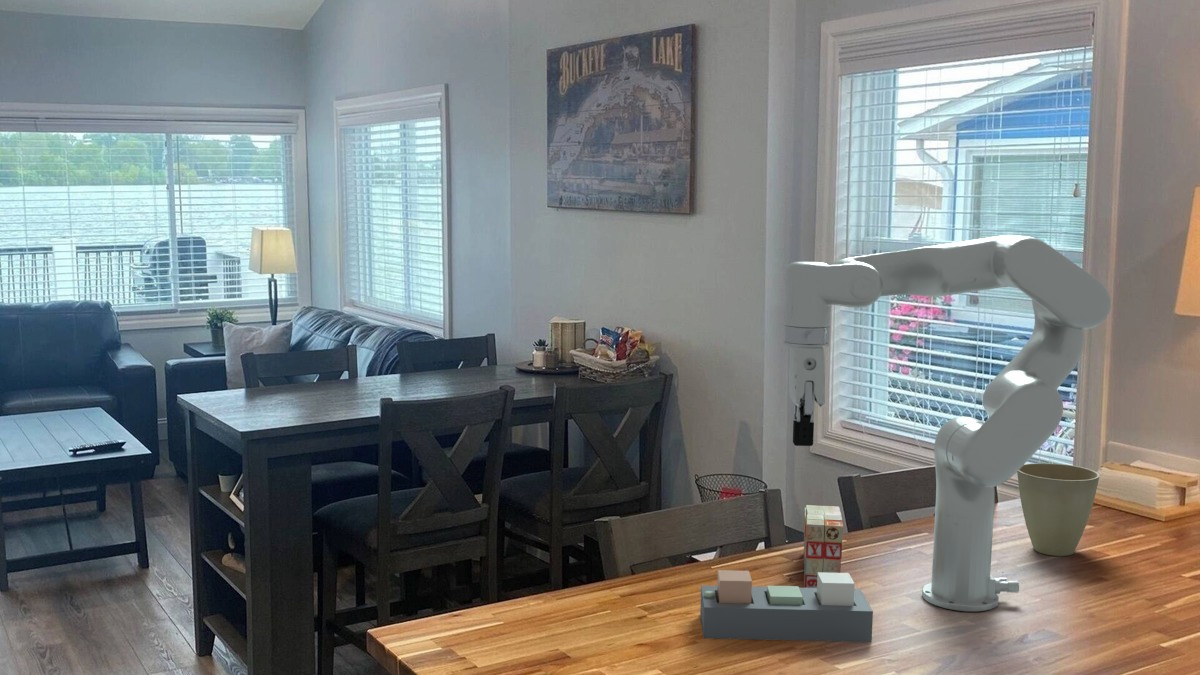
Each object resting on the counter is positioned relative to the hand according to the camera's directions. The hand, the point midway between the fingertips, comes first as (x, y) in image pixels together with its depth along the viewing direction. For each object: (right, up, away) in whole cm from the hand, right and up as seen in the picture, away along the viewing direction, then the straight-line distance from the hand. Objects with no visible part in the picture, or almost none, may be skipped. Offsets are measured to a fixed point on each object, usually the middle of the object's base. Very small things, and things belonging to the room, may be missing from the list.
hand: (802, 444), depth 193 cm
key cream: (+3, -25, -10) cm, 27 cm away
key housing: (-5, -28, -9) cm, 30 cm away
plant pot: (+55, -24, +32) cm, 68 cm away
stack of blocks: (+7, -25, +18) cm, 32 cm away
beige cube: (-13, -25, -10) cm, 29 cm away
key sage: (-5, -27, -9) cm, 29 cm away
